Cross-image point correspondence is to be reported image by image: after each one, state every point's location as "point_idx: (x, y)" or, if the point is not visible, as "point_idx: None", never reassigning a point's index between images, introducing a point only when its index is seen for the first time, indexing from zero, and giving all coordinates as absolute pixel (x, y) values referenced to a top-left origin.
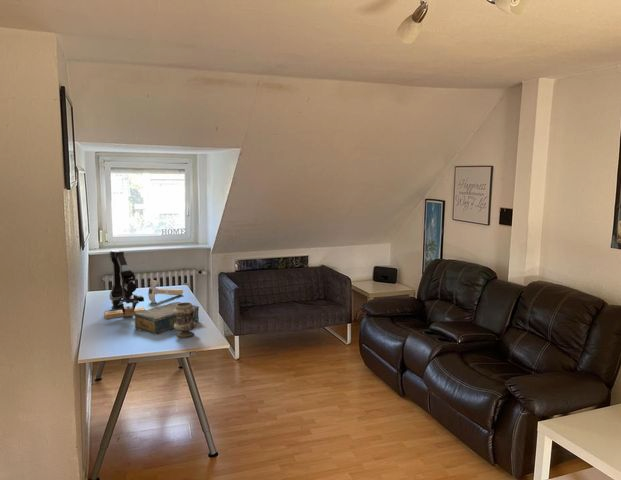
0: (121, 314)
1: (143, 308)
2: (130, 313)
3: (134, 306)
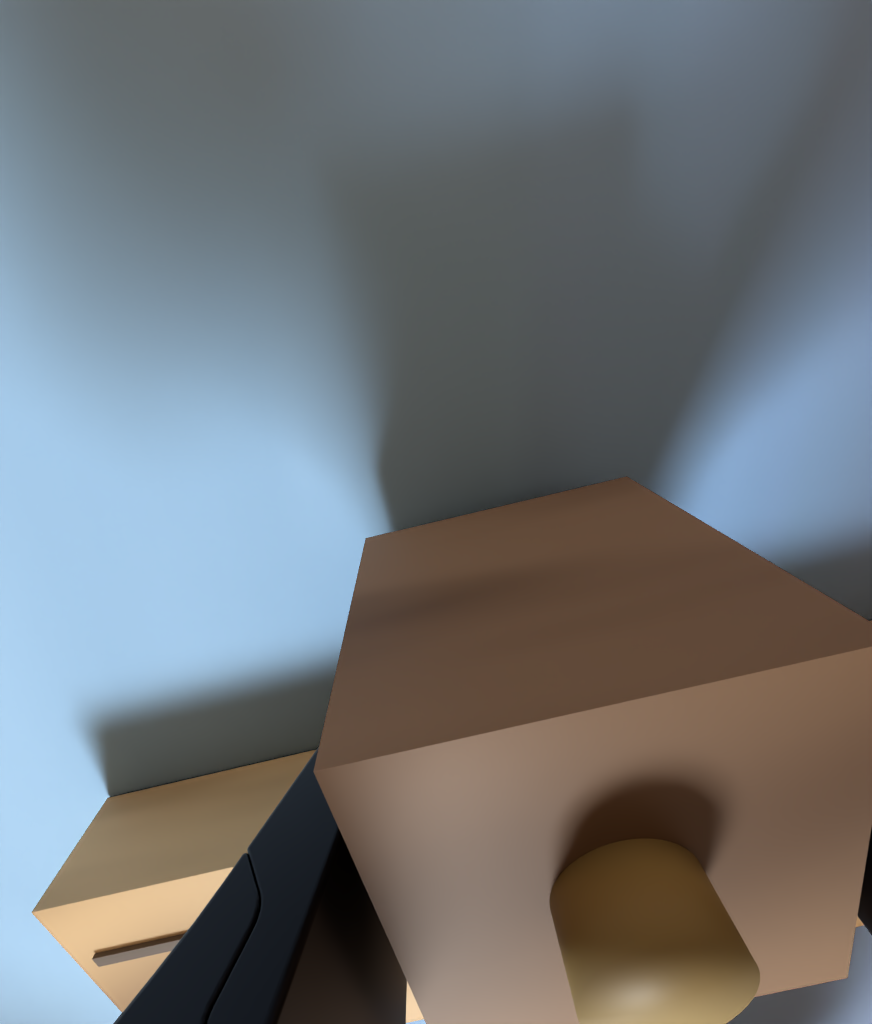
0: None
1: (119, 979)
2: (470, 551)
3: (225, 953)
